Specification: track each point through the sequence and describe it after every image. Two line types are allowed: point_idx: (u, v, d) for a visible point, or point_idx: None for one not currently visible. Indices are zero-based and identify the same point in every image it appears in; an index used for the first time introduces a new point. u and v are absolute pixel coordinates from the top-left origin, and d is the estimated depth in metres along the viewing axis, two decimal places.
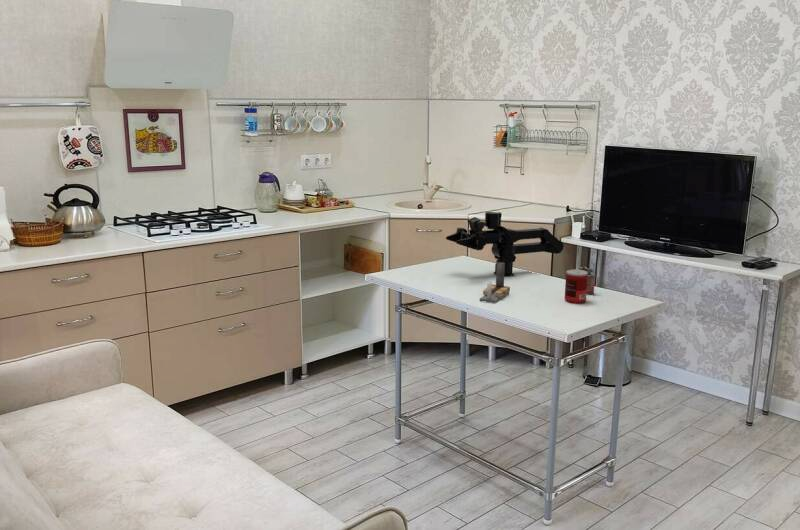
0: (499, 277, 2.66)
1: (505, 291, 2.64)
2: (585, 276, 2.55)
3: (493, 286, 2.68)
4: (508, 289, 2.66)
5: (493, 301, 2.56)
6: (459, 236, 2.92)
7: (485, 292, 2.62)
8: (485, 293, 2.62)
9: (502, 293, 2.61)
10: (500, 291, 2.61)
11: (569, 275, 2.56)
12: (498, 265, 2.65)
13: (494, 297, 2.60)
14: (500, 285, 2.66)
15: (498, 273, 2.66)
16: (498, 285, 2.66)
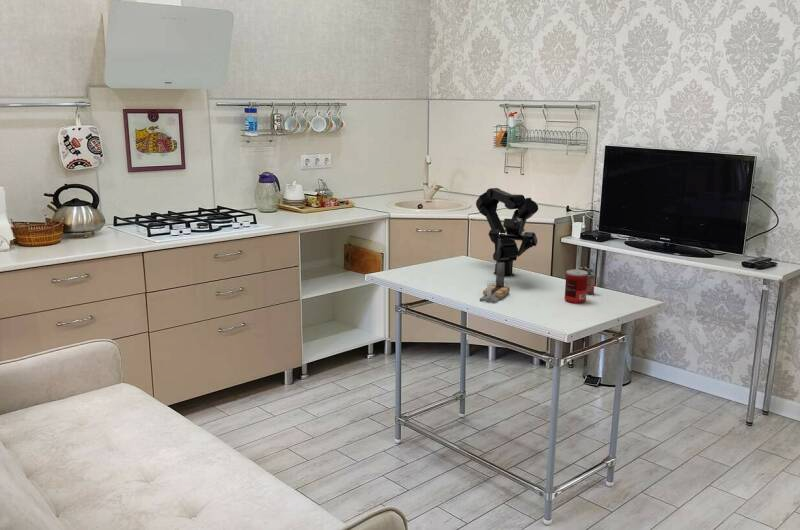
0: (499, 277, 2.66)
1: (505, 291, 2.64)
2: (585, 276, 2.55)
3: (493, 286, 2.68)
4: (508, 289, 2.66)
5: (493, 301, 2.56)
6: (499, 240, 2.79)
7: (485, 292, 2.62)
8: (485, 293, 2.62)
9: (502, 293, 2.61)
10: (500, 291, 2.61)
11: (569, 275, 2.56)
12: (498, 265, 2.65)
13: (494, 297, 2.60)
14: (500, 285, 2.66)
15: (498, 273, 2.66)
16: (498, 285, 2.66)
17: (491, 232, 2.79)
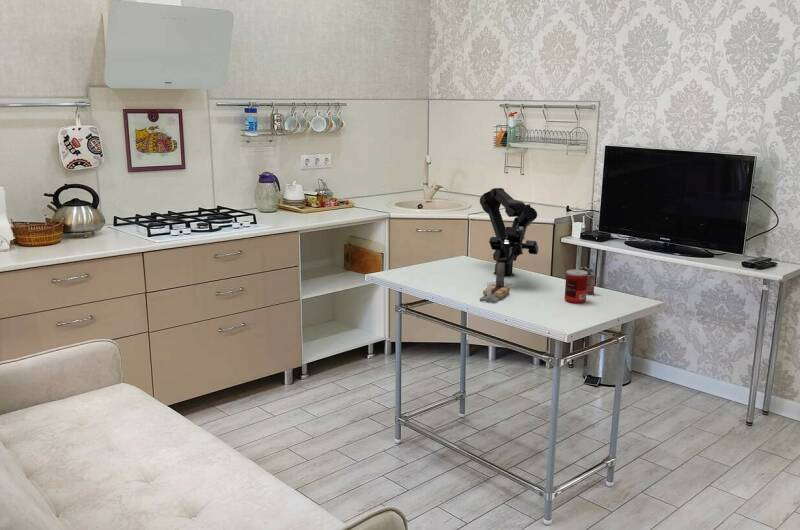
0: (499, 277, 2.66)
1: (505, 291, 2.64)
2: (585, 276, 2.55)
3: (493, 286, 2.68)
4: (508, 289, 2.66)
5: (493, 301, 2.56)
6: (510, 249, 2.76)
7: (485, 292, 2.62)
8: (485, 293, 2.62)
9: (502, 293, 2.61)
10: (500, 291, 2.61)
11: (569, 275, 2.56)
12: (498, 265, 2.65)
13: (494, 297, 2.60)
14: (500, 285, 2.66)
15: (498, 273, 2.66)
16: (498, 285, 2.66)
17: (492, 240, 2.78)
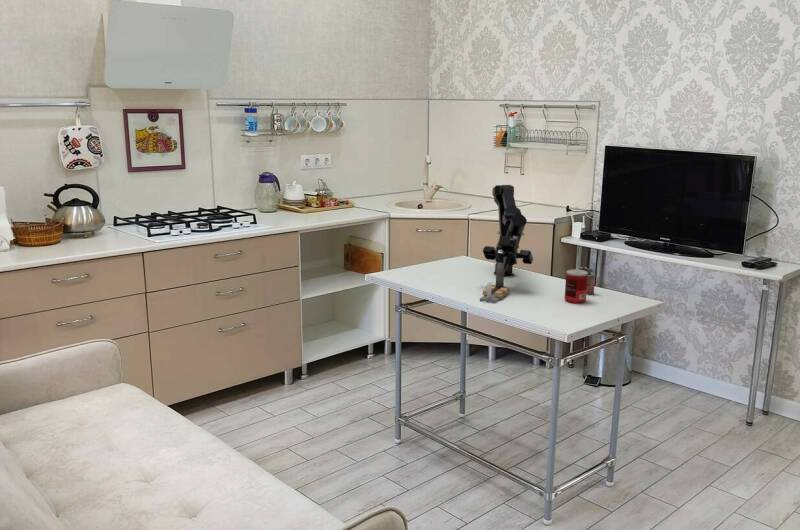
0: (498, 277, 2.65)
1: (505, 291, 2.63)
2: (585, 276, 2.55)
3: (493, 286, 2.68)
4: (508, 289, 2.66)
5: (493, 301, 2.56)
6: (504, 259, 2.71)
7: (485, 292, 2.62)
8: (485, 293, 2.62)
9: (502, 293, 2.60)
10: (500, 291, 2.61)
11: (569, 275, 2.56)
12: (498, 265, 2.65)
13: (494, 297, 2.60)
14: (500, 285, 2.66)
15: (498, 273, 2.65)
16: (498, 285, 2.66)
17: (485, 249, 2.73)
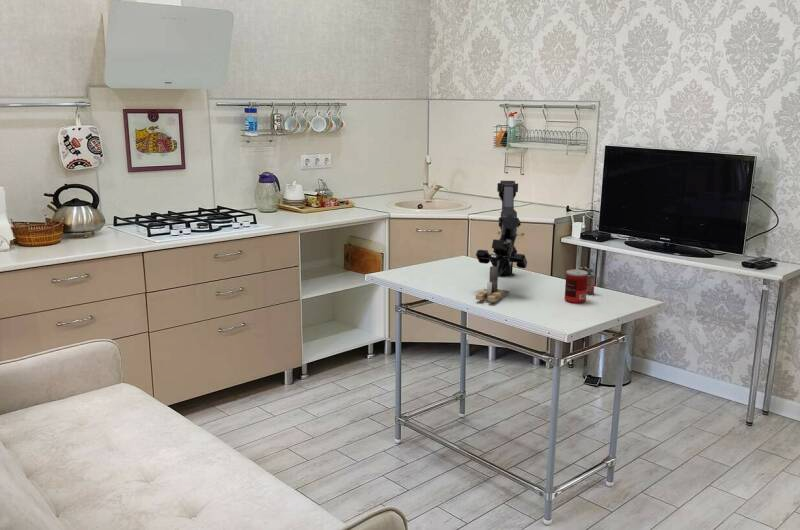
0: (492, 281, 2.59)
1: (498, 296, 2.57)
2: (585, 276, 2.55)
3: (486, 290, 2.62)
4: (502, 294, 2.60)
5: None
6: (498, 262, 2.65)
7: (478, 297, 2.56)
8: (478, 298, 2.56)
9: (495, 298, 2.54)
10: (493, 296, 2.55)
11: (569, 275, 2.56)
12: (491, 269, 2.59)
13: None
14: (493, 289, 2.60)
15: (491, 277, 2.59)
16: None
17: (479, 253, 2.67)
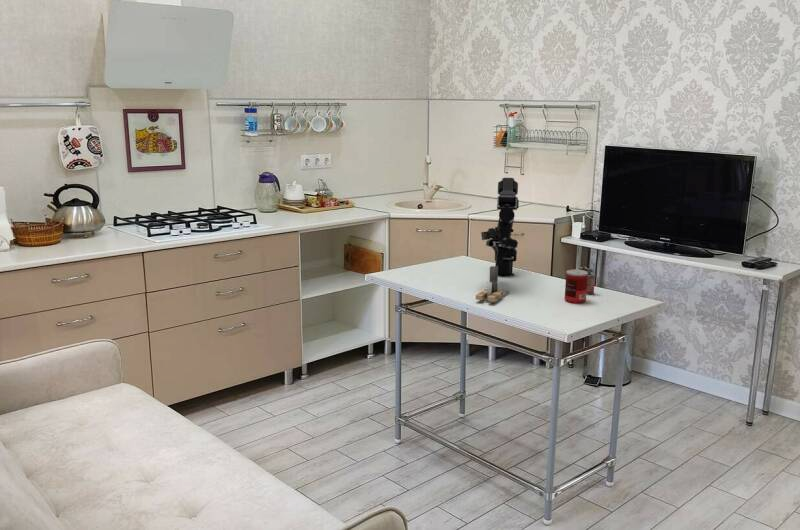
0: (492, 281, 2.59)
1: (498, 296, 2.57)
2: (585, 276, 2.55)
3: (486, 290, 2.62)
4: (502, 294, 2.60)
5: None
6: None
7: (478, 297, 2.56)
8: (478, 298, 2.56)
9: (495, 298, 2.54)
10: (493, 296, 2.55)
11: (569, 275, 2.56)
12: (491, 269, 2.59)
13: None
14: (493, 289, 2.60)
15: (491, 277, 2.59)
16: None
17: (486, 244, 2.81)
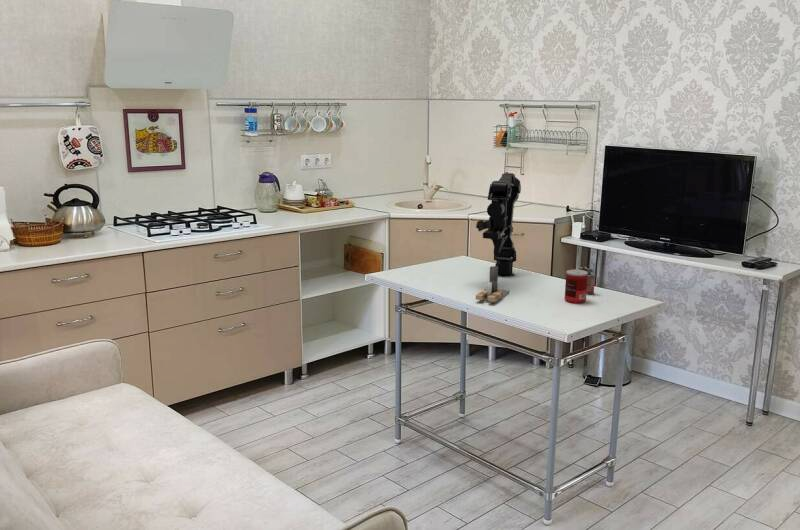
0: (492, 281, 2.59)
1: (498, 296, 2.57)
2: (585, 276, 2.55)
3: (486, 290, 2.62)
4: (502, 294, 2.60)
5: None
6: None
7: (478, 297, 2.56)
8: (478, 298, 2.56)
9: (495, 298, 2.54)
10: (493, 296, 2.55)
11: (569, 275, 2.56)
12: (491, 269, 2.59)
13: None
14: (493, 289, 2.60)
15: (491, 277, 2.59)
16: None
17: None
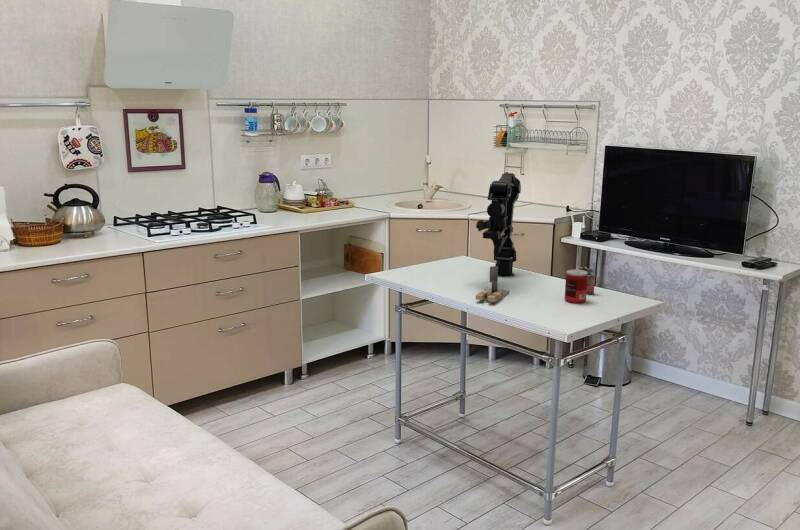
0: (492, 281, 2.59)
1: (498, 296, 2.57)
2: (585, 276, 2.55)
3: (486, 290, 2.62)
4: (502, 294, 2.60)
5: None
6: None
7: (478, 297, 2.56)
8: (478, 298, 2.56)
9: (495, 298, 2.54)
10: (493, 296, 2.55)
11: (569, 275, 2.56)
12: (491, 269, 2.59)
13: None
14: (493, 289, 2.60)
15: (491, 277, 2.59)
16: None
17: None
